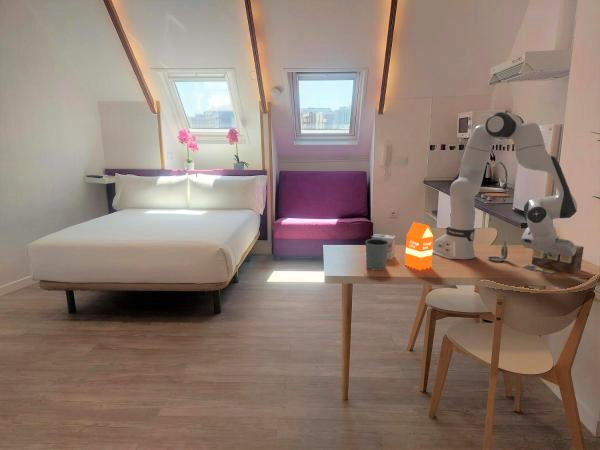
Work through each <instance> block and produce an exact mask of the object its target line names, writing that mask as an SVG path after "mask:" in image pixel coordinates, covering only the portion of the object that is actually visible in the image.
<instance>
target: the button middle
mask: <svg viewBox="0 0 600 450" xmlns="http://www.w3.org/2000/svg"><path fill="white" fill-rule="evenodd" d="M559 257H560V254H556V255H555V257H551V256H547V258H548V259H553V260H559Z"/></svg>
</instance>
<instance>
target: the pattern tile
mask: <svg viewBox="0 0 600 450" xmlns="http://www.w3.org/2000/svg"><path fill="white" fill-rule="evenodd" d="M522 268H523V269H526V270H530V271H535V272H540V273H543V274H547V275H550V276H551V275H554V274H556V273H557V272H558V271H556V270H554V269H550V268H549V269H548V268H545V267H541V266H540V267H539V266H537V265H536V266H535V265H532V264H527V265H524V266H523V267H522Z"/></svg>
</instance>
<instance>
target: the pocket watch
mask: <svg viewBox="0 0 600 450" xmlns="http://www.w3.org/2000/svg"><path fill="white" fill-rule="evenodd" d="M507 243H508V241H507V240H505V241H504V243H503V245H502V246H501V252H500V254H501V257H500V256H495V255H494V256H488V257H487V260H488V261H491V262H496V263H497V262H498V263H500V262H504V260H506V259H507V258H508V247H507V246H508V245H506V244H507Z"/></svg>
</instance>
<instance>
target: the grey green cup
mask: <svg viewBox="0 0 600 450" xmlns="http://www.w3.org/2000/svg"><path fill="white" fill-rule="evenodd" d="M387 250H388V241H386V240H381V239H372V238H371V239H370V238H369V239H367V240H365V253H366V255H365V257H366V258H365V260H366V261H365V263H366V264H365V266H366V268H367V269H368V268H369V270H371V269H374V270H373V271H380V270H379V269H383V270H385V269H386V265H387V259H386V258H387ZM384 268H385V269H384Z"/></svg>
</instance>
